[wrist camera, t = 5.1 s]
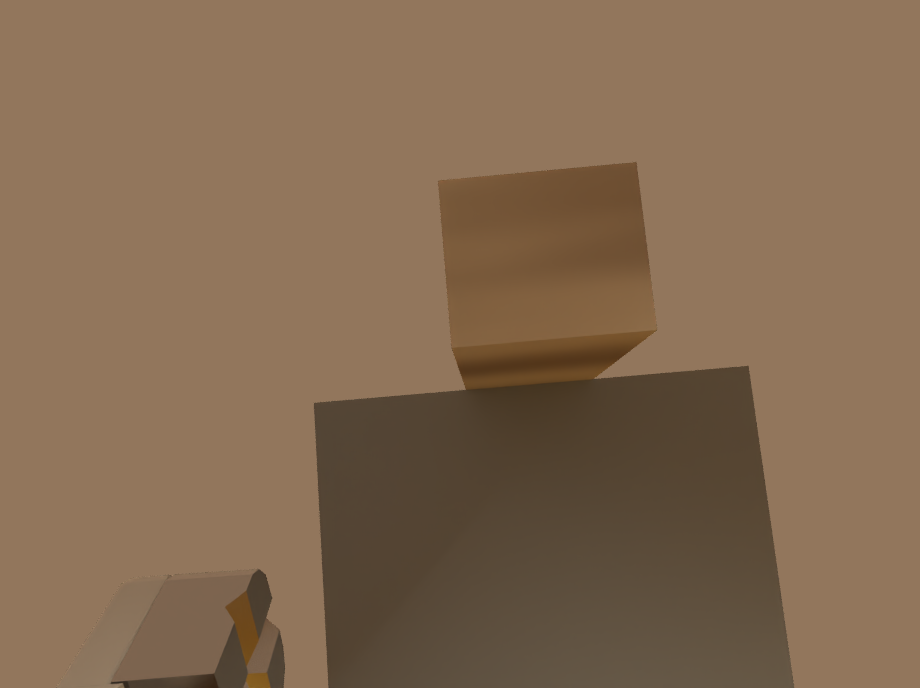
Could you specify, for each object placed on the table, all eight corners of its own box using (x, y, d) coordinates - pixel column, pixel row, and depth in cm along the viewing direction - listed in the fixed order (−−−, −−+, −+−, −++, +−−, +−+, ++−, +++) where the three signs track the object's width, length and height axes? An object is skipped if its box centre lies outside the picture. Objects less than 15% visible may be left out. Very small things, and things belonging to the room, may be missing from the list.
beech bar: (474, 413, 32) (468, 343, 32) (557, 406, 31) (550, 336, 32) (451, 348, 13) (437, 180, 13) (657, 329, 13) (636, 161, 13)
